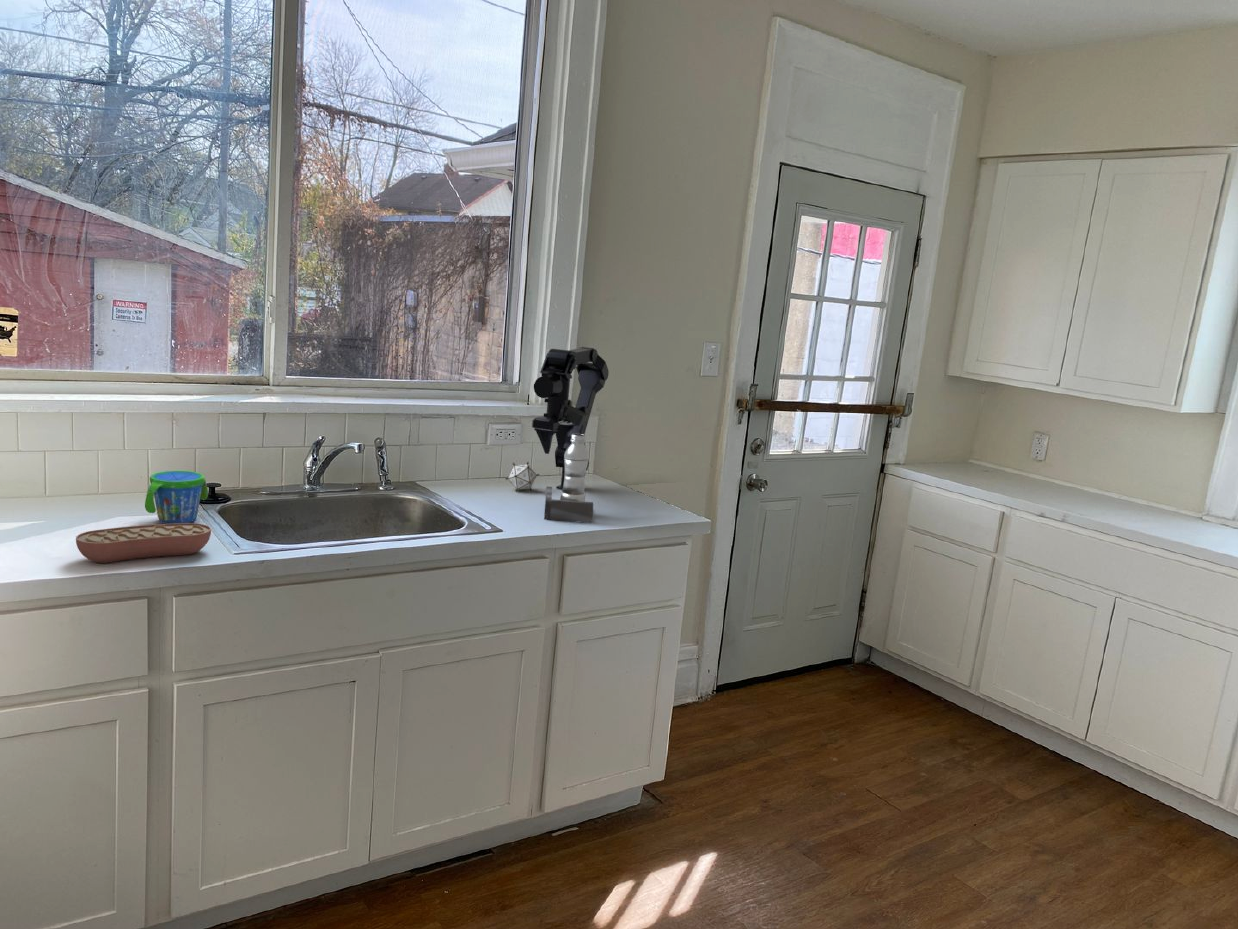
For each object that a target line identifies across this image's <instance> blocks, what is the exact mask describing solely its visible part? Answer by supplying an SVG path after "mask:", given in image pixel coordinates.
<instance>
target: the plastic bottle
mask: <svg viewBox="0 0 1238 929" xmlns="http://www.w3.org/2000/svg"><path fill="white" fill-rule="evenodd" d="M570 441H571V444H570V446H569V447H568V448H567V450H566V451H565V454H564V462H565V476H564V484H563V489H561V493H560V497H559V498H560V499H559V500H569V501H583V502H586V494H585V483H586V482H585V480H586V474H587V471H586V469H587V464H588V460H589V459H590V453H589V450H588V448H587V446H586V447H585V445H586V435H583V434H571V440H570ZM584 443H585V445H584ZM589 461H590V460H589Z"/></svg>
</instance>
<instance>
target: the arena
mask: <svg viewBox="0 0 1238 929" xmlns="http://www.w3.org/2000/svg"><path fill="white" fill-rule="evenodd" d="M545 489H546V490H545V501H544V515H543V516H544V517H543V519H544V520H545V519H547V521H548V520H550V521H559V522H560V521H561V522H573V521H580V522H579V523H587V522H589V523H588V524H590V523H592V520H593V511H594V510H593V509H594V502H592V501H585V502H583V501H569V500H560V499H552V496H553V486H546V488H545Z"/></svg>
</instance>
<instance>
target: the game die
mask: <svg viewBox="0 0 1238 929" xmlns="http://www.w3.org/2000/svg"><path fill="white" fill-rule="evenodd" d="M512 465H513V467H512V469H511V471H510V473H509V475H508V477H506V478H504V480H505V481H509V482H510V483H511V484H512V486H514V488H515V492H516V493H517V492H518V491H519V490H530V491H531V492H533V489H532V486H533V485H534V483H535V480H536V478H537V477H539V476H540V474H539V473H536V472H535V471H534V469H532V467H531V465H529V461H527V462H526V463H525V464H523V463H522V464H516V463H515V462H512Z"/></svg>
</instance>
